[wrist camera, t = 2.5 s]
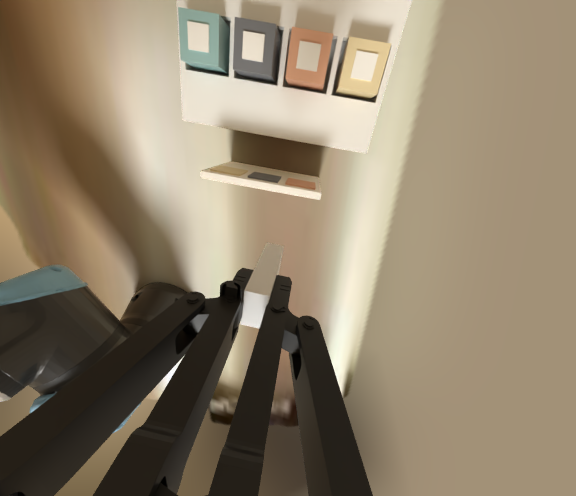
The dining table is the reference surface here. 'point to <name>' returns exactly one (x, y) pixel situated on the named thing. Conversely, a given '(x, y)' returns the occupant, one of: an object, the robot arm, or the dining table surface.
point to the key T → (362, 68)
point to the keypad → (280, 96)
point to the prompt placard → (265, 179)
